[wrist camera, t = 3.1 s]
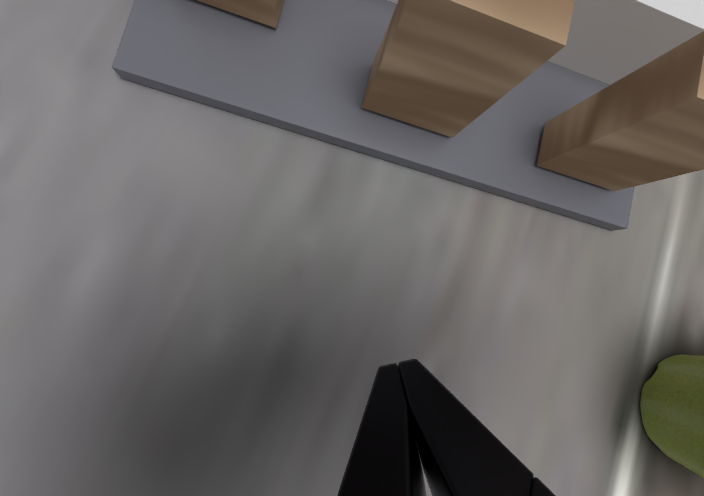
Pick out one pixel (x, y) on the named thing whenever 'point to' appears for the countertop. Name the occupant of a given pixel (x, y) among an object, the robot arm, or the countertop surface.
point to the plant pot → (677, 410)
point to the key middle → (460, 57)
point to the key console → (353, 74)
